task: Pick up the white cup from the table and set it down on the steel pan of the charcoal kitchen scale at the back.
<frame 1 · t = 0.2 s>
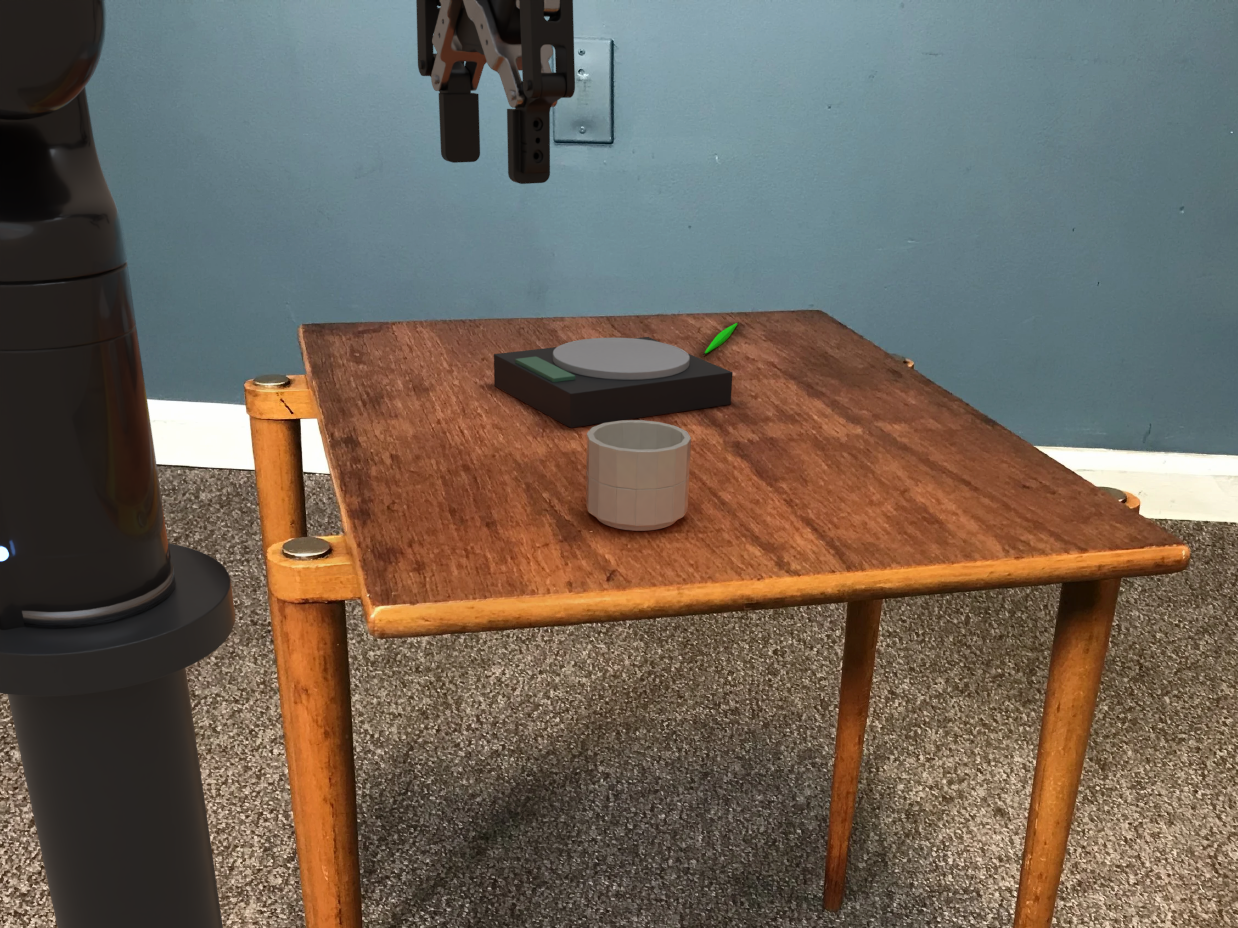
hand: (493, 171, 77), 18 cm above the table, tool pointing down, fingers open, 8 cm apart
leaf: (721, 344, 121), on the table
white cup: (636, 515, 81), on the table
scale: (611, 395, 104), on the table
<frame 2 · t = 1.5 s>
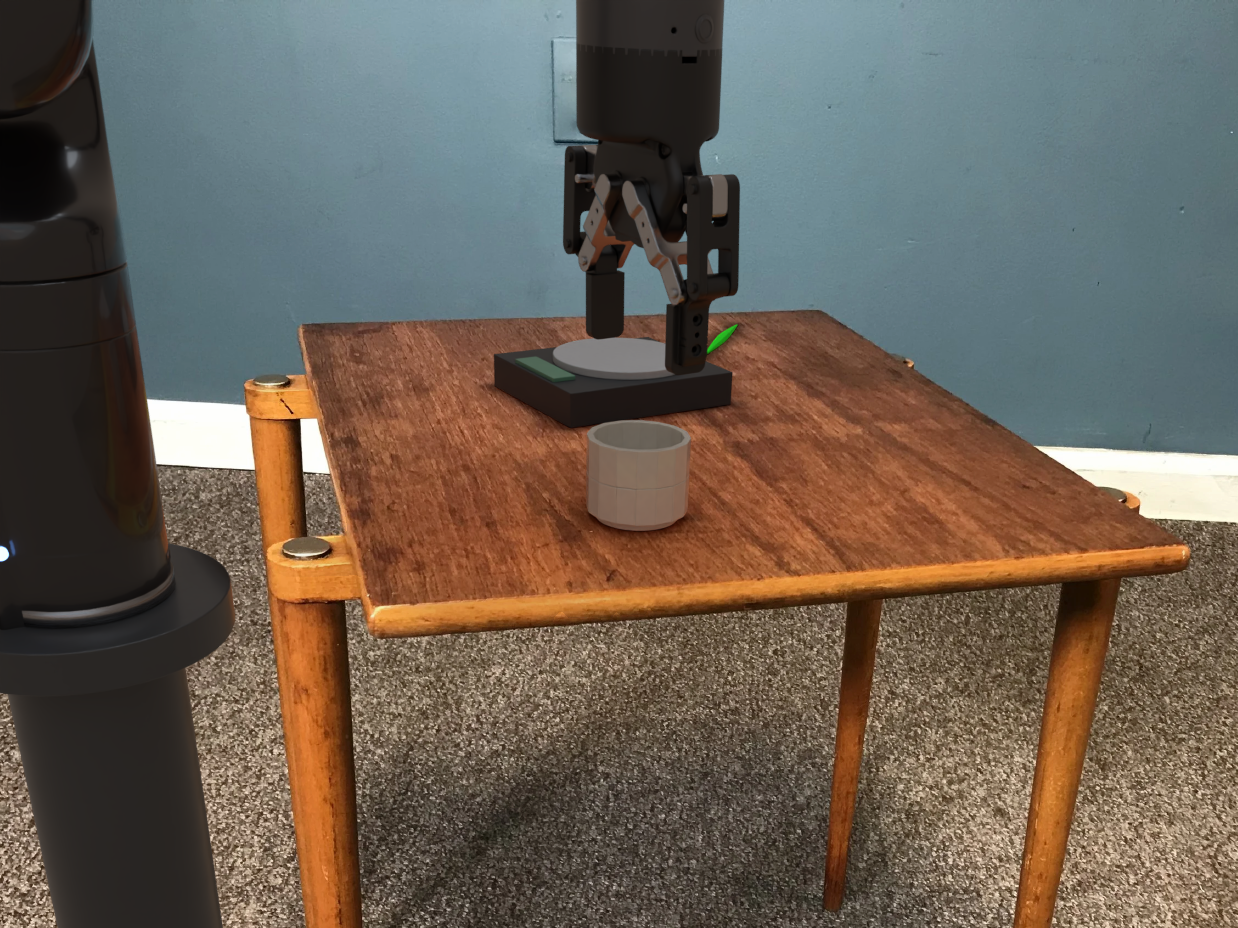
hand: (643, 354, 77), 10 cm above the table, tool pointing down, fingers open, 8 cm apart
nothing on the table moved.
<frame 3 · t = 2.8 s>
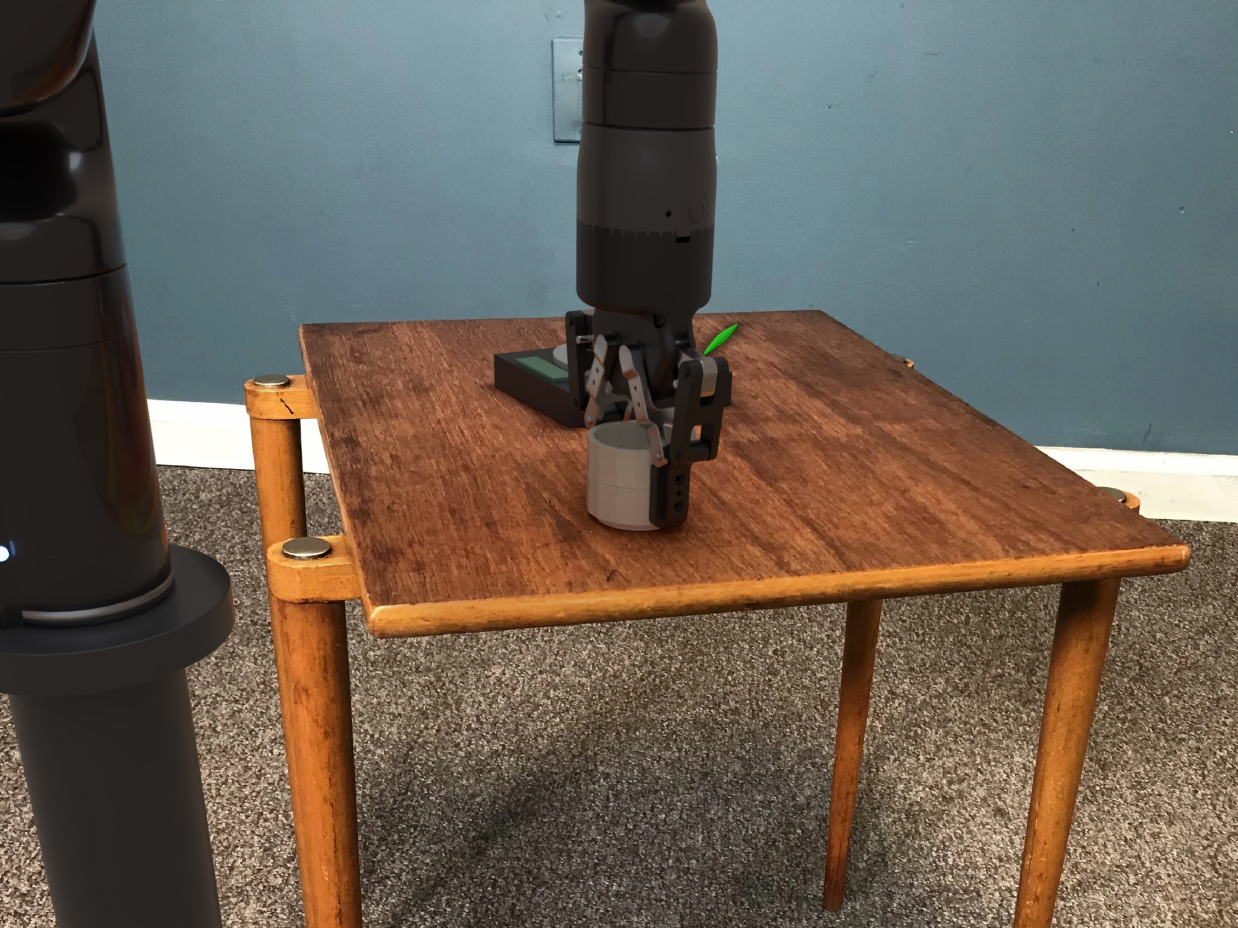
hand: (637, 505, 81), 1 cm above the table, tool pointing down, fingers closed on white cup, 6 cm apart
white cup: (636, 515, 81), on the table, touching gripper
everything else where it was.
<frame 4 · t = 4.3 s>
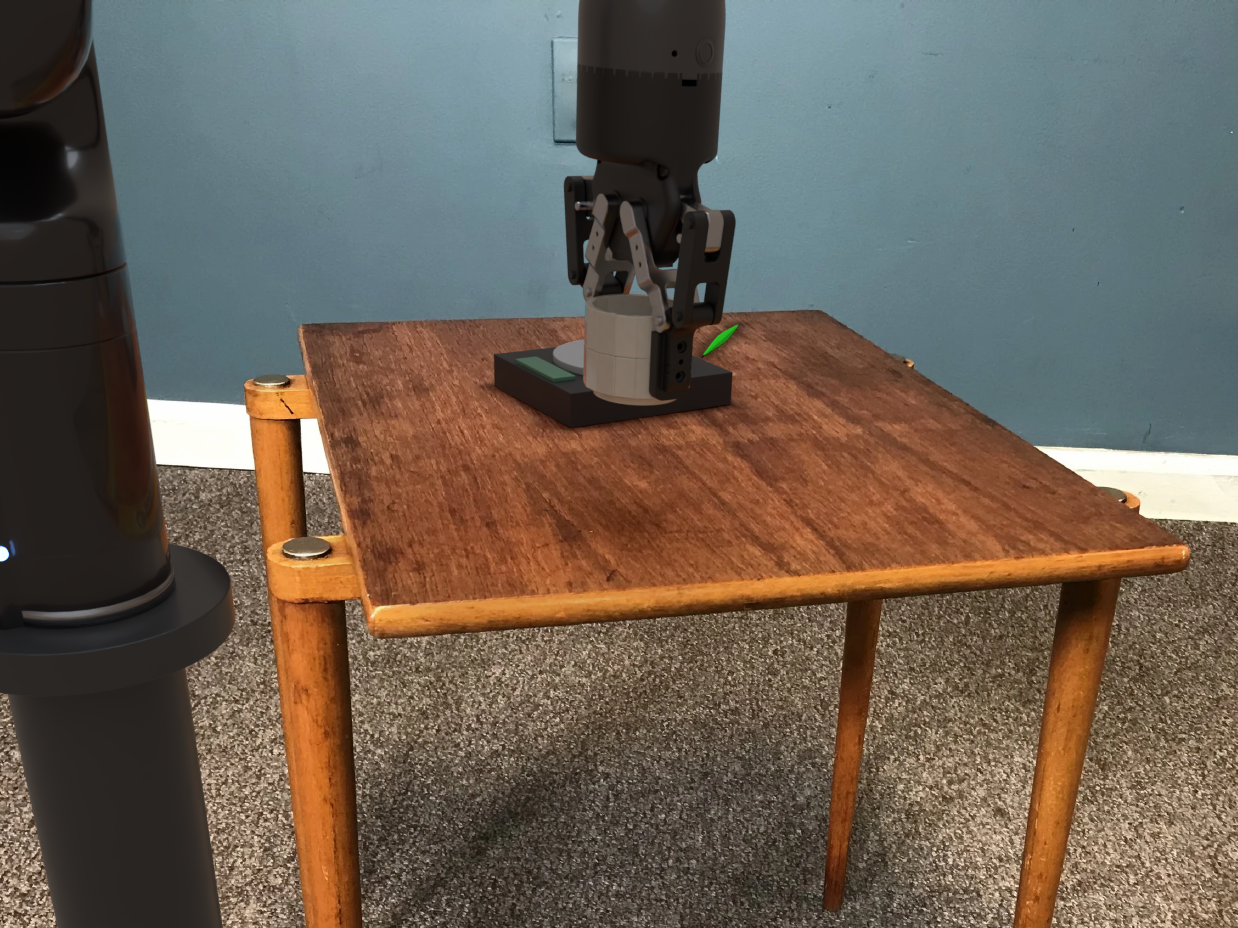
hand: (637, 381, 77), 8 cm above the table, tool pointing down, fingers closed on white cup, 6 cm apart
white cup: (636, 393, 78), point 8 cm above the table, touching gripper
everything else where it was.
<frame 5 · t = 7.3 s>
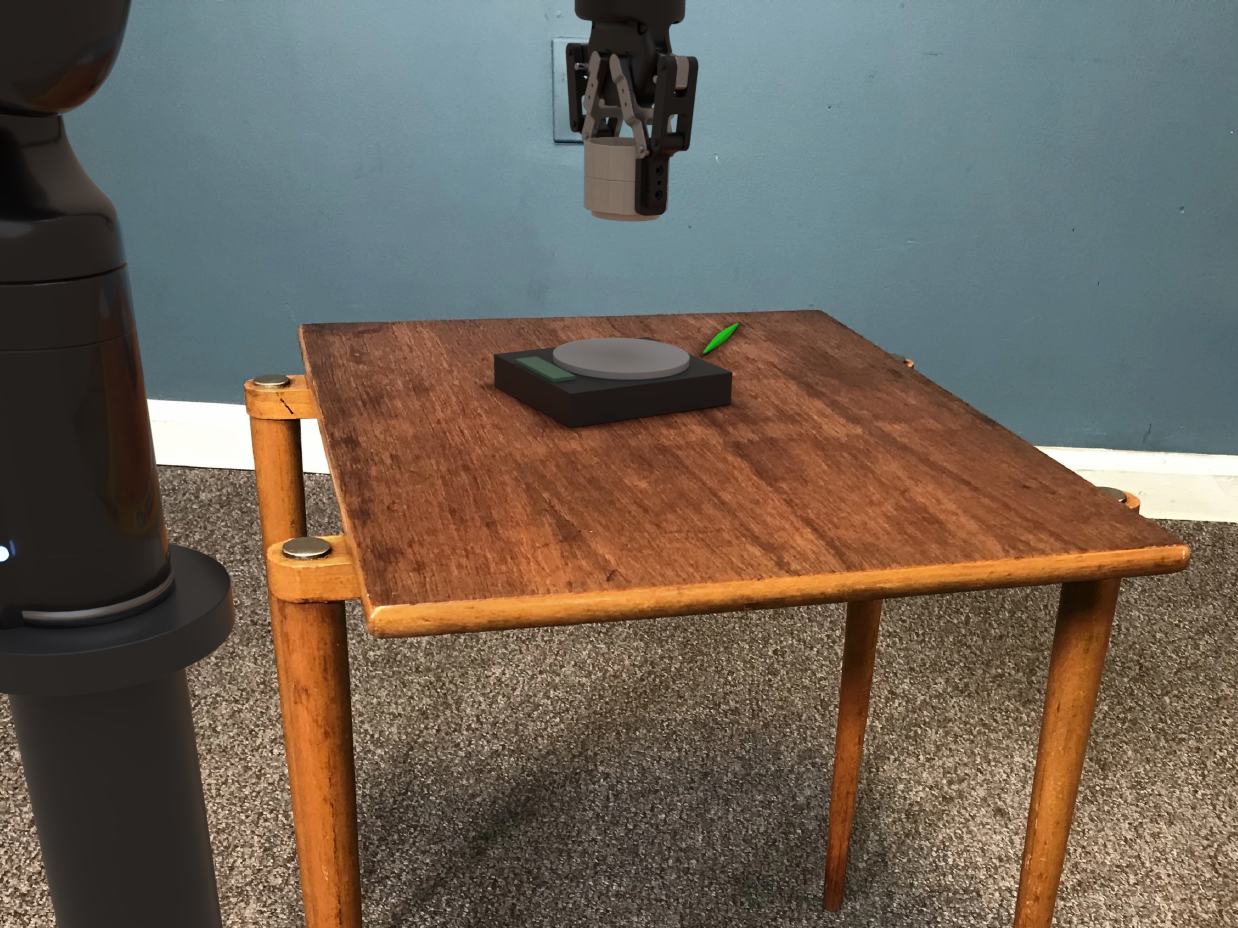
hand: (625, 206, 98), 14 cm above the table, tool pointing down, fingers closed on white cup, 6 cm apart
white cup: (625, 215, 98), point 13 cm above the table, touching gripper
everything else where it was.
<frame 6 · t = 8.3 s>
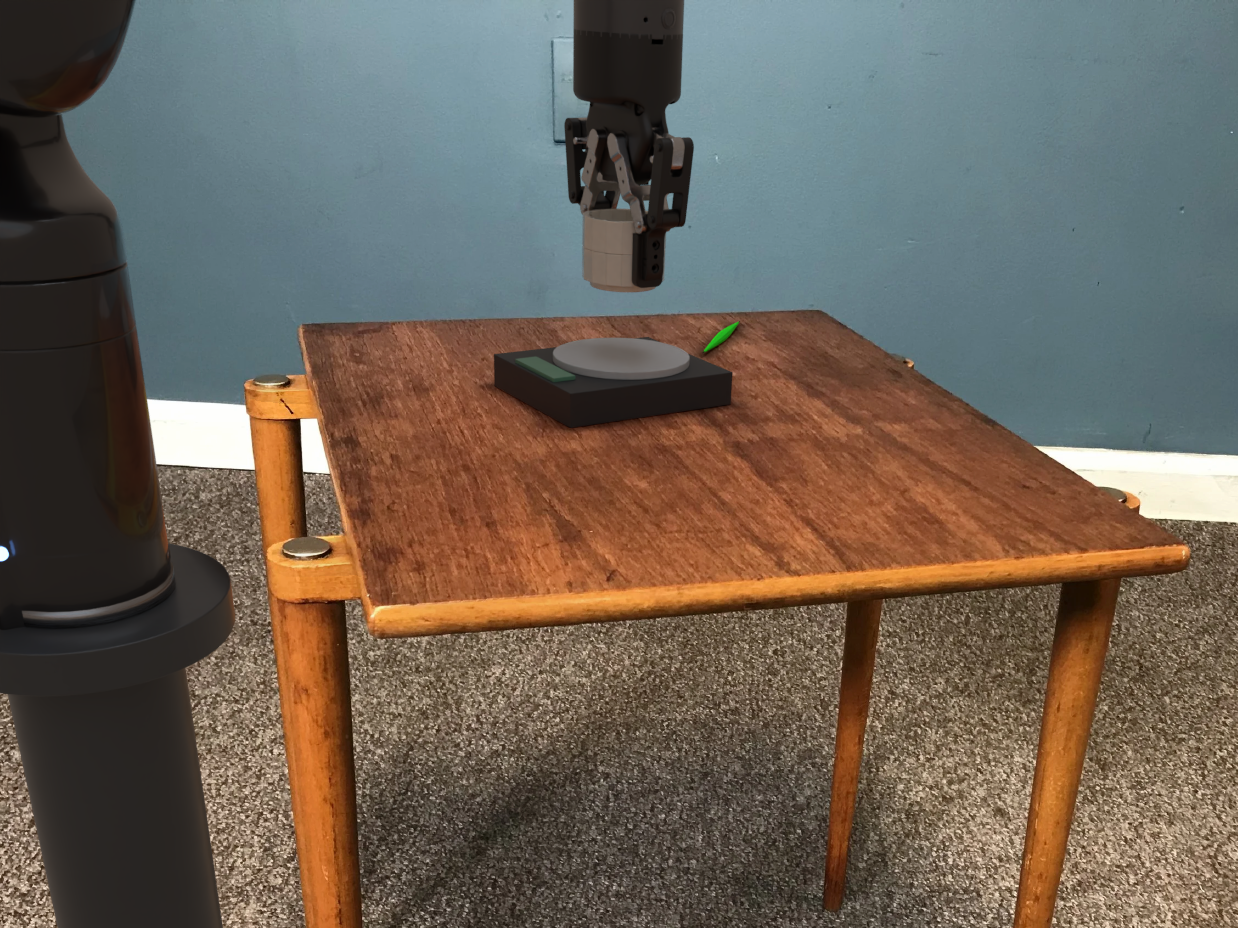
hand: (623, 276, 100), 9 cm above the table, tool pointing down, fingers closed on white cup, 6 cm apart
white cup: (623, 285, 101), point 8 cm above the table, touching gripper
everything else where it was.
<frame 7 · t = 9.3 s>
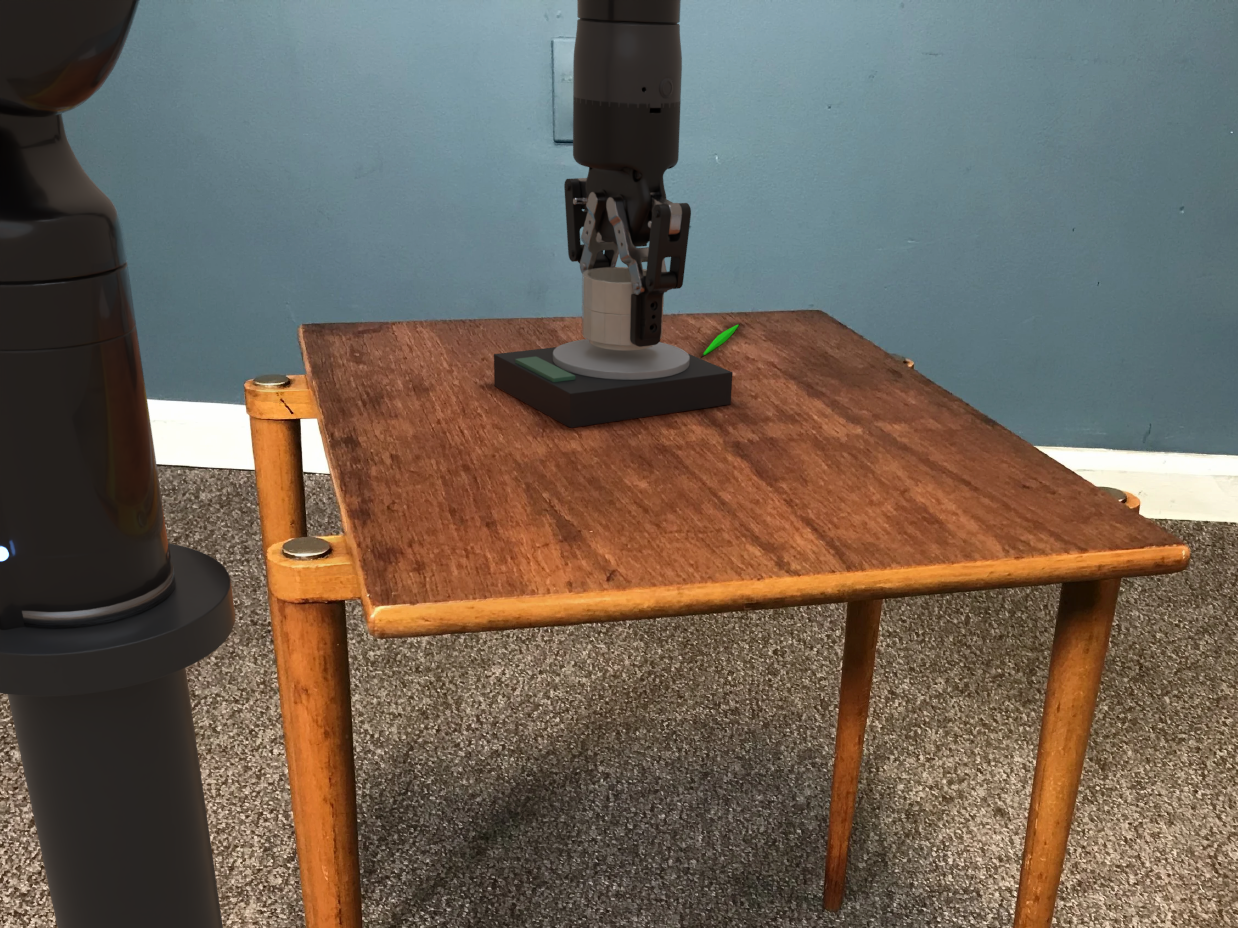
hand: (622, 333, 102), 5 cm above the table, tool pointing down, fingers closed on white cup, 6 cm apart
white cup: (621, 342, 103), point 4 cm above the table, touching gripper
everything else where it was.
when the fingers open (4 cm above the table, at t = 10.1 s): white cup stays where it is, resting on scale.
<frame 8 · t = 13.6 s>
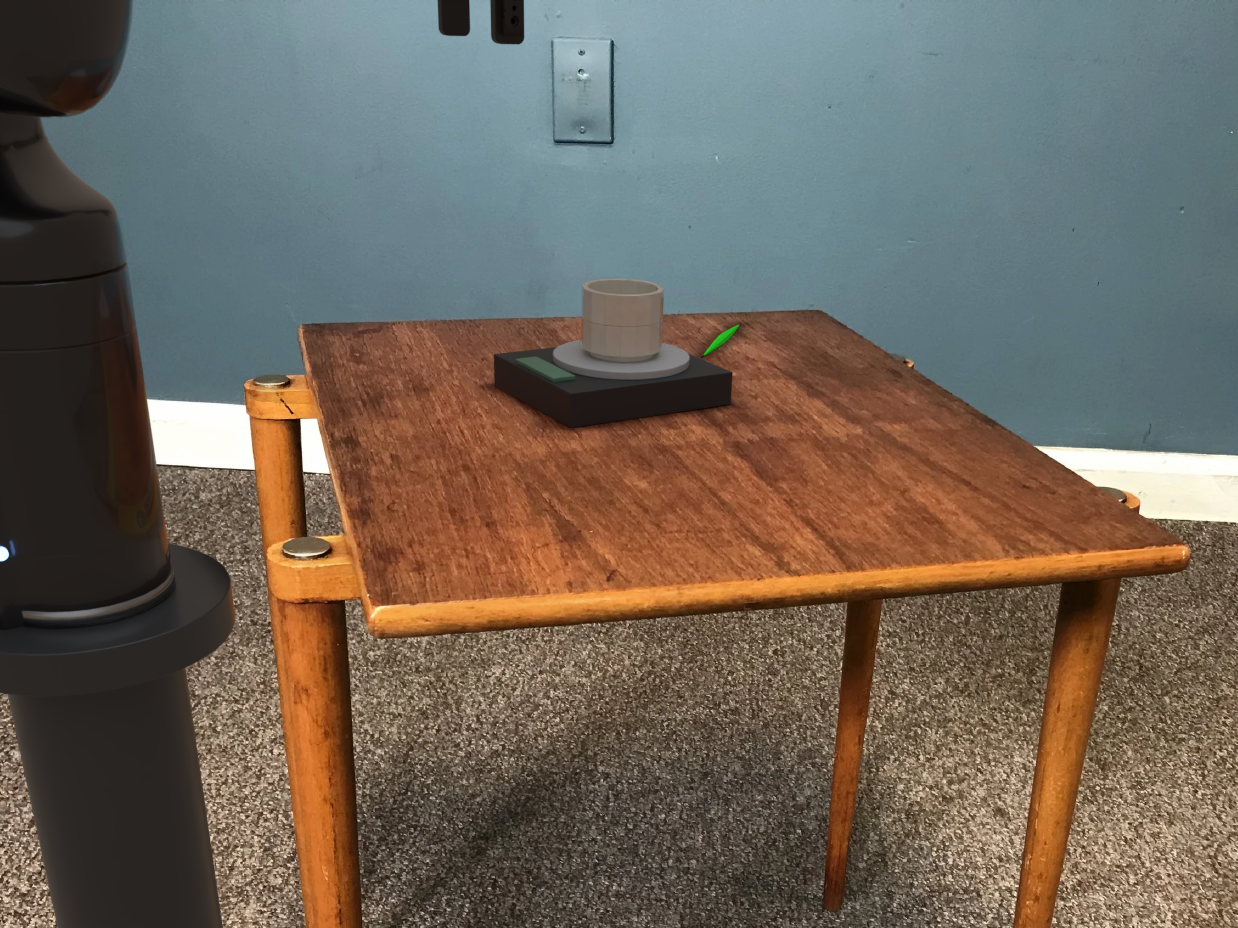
hand: (480, 39, 96), 24 cm above the table, tool pointing down, fingers open, 8 cm apart
white cup: (621, 353, 103), point 3 cm above the table, touching scale
everything else where it was.
at the end: white cup inside the target area on the scale (0.0 cm from its centre), point 3.1 cm above the scale's base; white cup tilted 0°; the gripper is holding nothing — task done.
